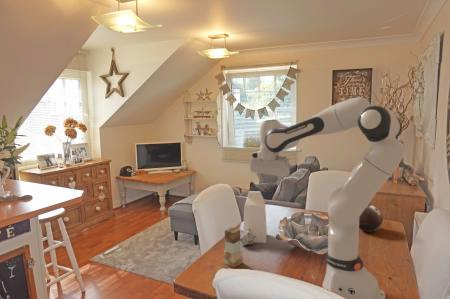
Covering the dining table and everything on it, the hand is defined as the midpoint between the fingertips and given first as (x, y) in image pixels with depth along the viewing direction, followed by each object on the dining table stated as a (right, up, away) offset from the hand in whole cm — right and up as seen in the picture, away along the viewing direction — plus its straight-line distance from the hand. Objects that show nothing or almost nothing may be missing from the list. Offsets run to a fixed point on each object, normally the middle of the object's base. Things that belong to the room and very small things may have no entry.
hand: (269, 183), depth 151 cm
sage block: (-17, -30, -4) cm, 35 cm away
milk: (-4, -32, +24) cm, 41 cm away
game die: (-10, -34, +16) cm, 38 cm away
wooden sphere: (+60, -30, +31) cm, 74 cm away
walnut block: (-17, -26, -5) cm, 31 cm away
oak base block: (-17, -36, -3) cm, 40 cm away
